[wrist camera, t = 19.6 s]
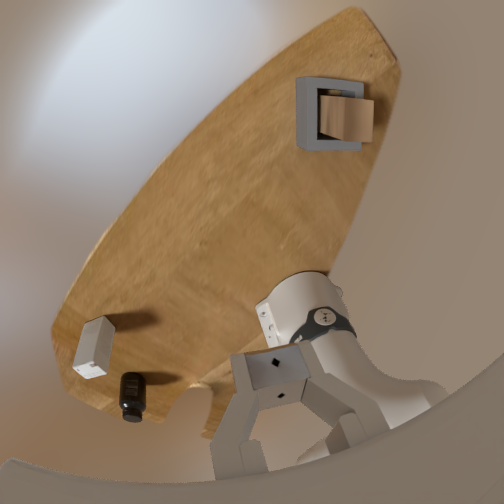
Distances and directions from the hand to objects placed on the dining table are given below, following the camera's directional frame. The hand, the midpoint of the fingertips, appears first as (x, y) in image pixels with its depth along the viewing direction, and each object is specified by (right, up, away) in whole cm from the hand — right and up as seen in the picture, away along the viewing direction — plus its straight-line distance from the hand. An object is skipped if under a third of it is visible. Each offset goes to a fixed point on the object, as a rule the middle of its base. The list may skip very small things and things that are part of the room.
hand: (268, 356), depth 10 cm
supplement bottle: (-31, -28, +50) cm, 66 cm away
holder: (+10, +25, +26) cm, 38 cm away
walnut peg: (+10, +25, +27) cm, 38 cm away
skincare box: (-32, -11, +39) cm, 52 cm away
